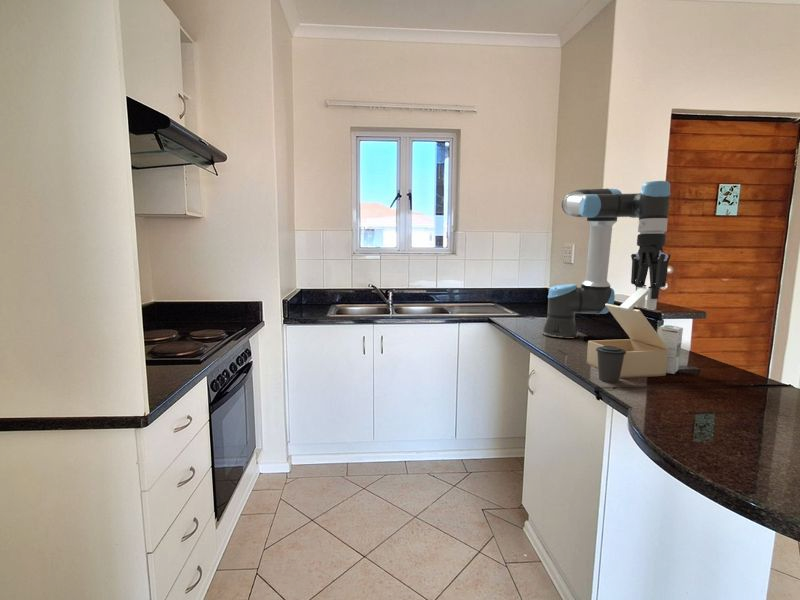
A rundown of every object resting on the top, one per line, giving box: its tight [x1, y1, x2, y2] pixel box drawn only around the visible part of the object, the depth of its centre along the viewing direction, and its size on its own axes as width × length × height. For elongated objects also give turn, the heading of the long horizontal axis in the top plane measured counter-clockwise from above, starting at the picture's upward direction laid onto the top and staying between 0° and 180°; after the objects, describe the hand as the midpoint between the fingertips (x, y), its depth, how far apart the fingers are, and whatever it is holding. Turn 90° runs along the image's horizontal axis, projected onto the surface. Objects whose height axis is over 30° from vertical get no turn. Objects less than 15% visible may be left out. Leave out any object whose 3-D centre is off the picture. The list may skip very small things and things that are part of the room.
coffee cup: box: [596, 346, 626, 384], centre depth 118 cm, size 8×8×10 cm
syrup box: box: [657, 324, 684, 375], centre depth 127 cm, size 6×6×14 cm
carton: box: [586, 338, 668, 379], centre depth 129 cm, size 16×16×8 cm
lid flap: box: [605, 288, 668, 350], centre depth 128 cm, size 15×17×9 cm
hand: (645, 308), depth 125 cm, fingers closed on lid flap, 4 cm apart
